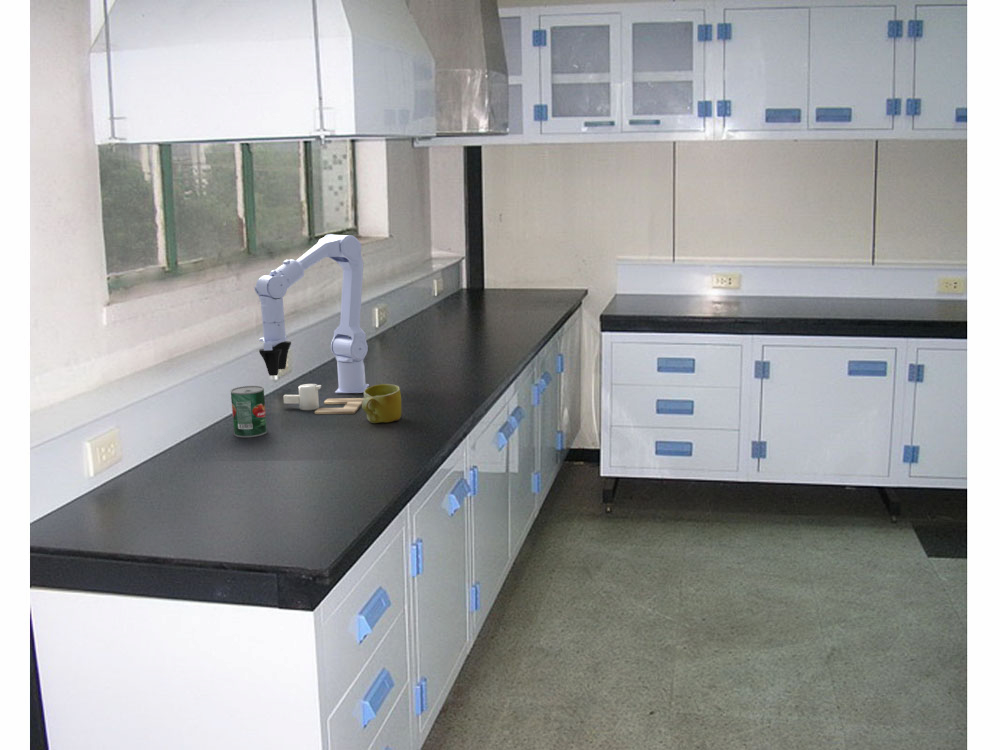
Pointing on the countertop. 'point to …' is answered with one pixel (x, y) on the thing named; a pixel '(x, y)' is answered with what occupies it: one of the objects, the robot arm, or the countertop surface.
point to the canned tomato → (248, 411)
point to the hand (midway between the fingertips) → (277, 372)
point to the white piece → (305, 397)
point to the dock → (349, 408)
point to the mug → (382, 403)
